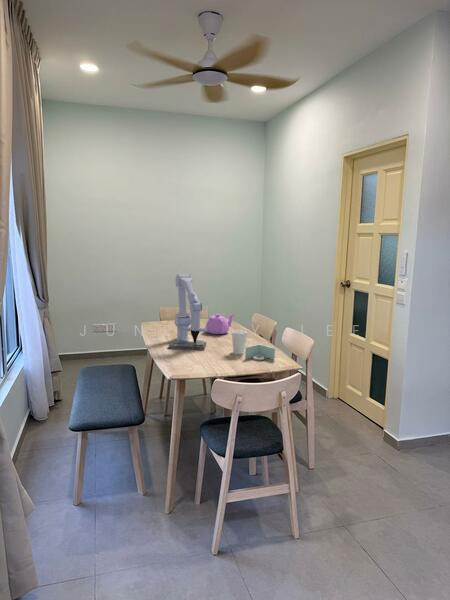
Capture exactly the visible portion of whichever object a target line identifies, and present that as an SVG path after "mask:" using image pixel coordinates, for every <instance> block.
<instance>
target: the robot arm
mask: <svg viewBox="0 0 450 600" xmlns="http://www.w3.org/2000/svg"><path fill="white" fill-rule="evenodd" d="M192 284H193V275H192V274H176V275H175V287H176V288H177V290H178V292H177V293H178V294H177V295H178V296H177V297H178V312H177V313H175V315H174V324H175V327H177V328H176V330H177V331H176V339H175V341H189V339H190V337H189V332H190V335H191V337H192V339H193V341H192V342H194V343H196V342H197V338H198V336H199V334H200V333H203V332H204V333H208V332H207V328H206V327H205V328H204V327H201V312H202V310H203V304H202V302H201V301H200V300H199V299H198V295H197V293H196V292H194V289H193V285H192ZM186 293H187V294H186ZM187 299H188V302H189V303H188V304H189V313H190V314H189V313H188V312H187Z"/></svg>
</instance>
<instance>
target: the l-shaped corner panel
mask: <svg viewBox="0 0 450 600" xmlns="http://www.w3.org/2000/svg"><path fill="white" fill-rule="evenodd" d="M244 354H245V355H244V360H248V358H249V359H252V360H254V361H255V360H257V361H256V362H261V361H260V360H263V361H264V360H265V359H267V358H270V359H269V360H271V359H275V358H276V348H275V347H271V346H268V345H265V344H261V343H257V344H253V345H249V346H245V350H244ZM251 357H253V358H251ZM264 357H266V358H264ZM258 360H259V361H258Z"/></svg>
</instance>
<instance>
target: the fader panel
mask: <svg viewBox="0 0 450 600" xmlns="http://www.w3.org/2000/svg"><path fill="white" fill-rule="evenodd" d="M206 346H207V342H206V341H204V344H203V345H197V341H196V343H194V341H189V340H188V341H176V340H171V342H169V344H168V349H171V350H191V351H193V350H194V351H205V349H206Z"/></svg>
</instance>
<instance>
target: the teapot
mask: <svg viewBox="0 0 450 600" xmlns="http://www.w3.org/2000/svg"><path fill="white" fill-rule="evenodd" d="M234 316H235V313H234V314H231V315H230V316H229V317H228V321H227V319H226V317H225V316H222V315H221V314H220V313H215V315H211V316H210V317H209V318H208V320H207V322H206V325H205V328H207V332H206V333H209V334H211V335H224V334H226V333H228V332H229V331H230V327H231V326H232V324H233V323H232V321H233V320H232V319H233V317H234Z"/></svg>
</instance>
